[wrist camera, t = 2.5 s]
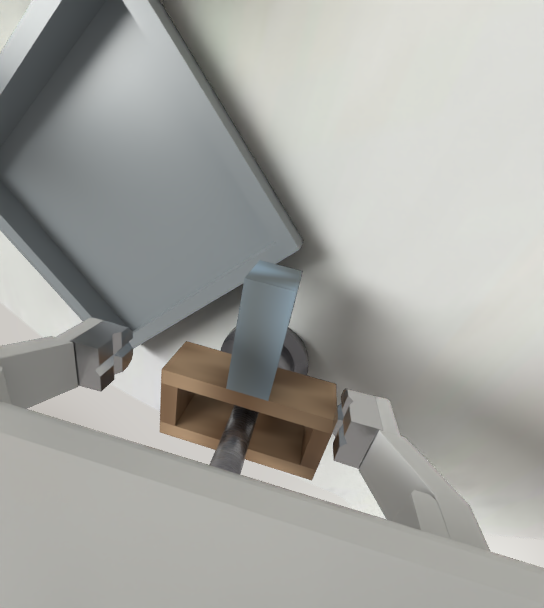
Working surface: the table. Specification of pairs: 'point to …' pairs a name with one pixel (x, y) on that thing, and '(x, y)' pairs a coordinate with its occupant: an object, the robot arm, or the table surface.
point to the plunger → (244, 420)
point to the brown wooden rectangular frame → (252, 383)
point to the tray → (127, 167)
